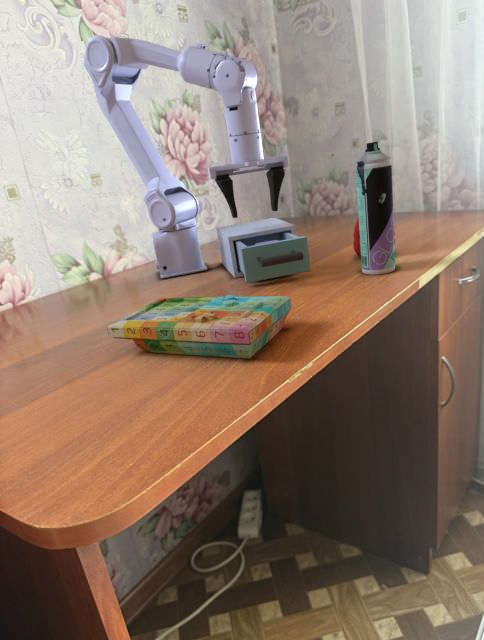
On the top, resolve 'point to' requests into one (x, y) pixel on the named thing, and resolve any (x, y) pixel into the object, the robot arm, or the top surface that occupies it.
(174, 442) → the top surface
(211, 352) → the puzzle game
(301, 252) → the open teal drawer
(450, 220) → the top surface
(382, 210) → the spray can
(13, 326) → the top surface
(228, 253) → the mini drawer cabinet
